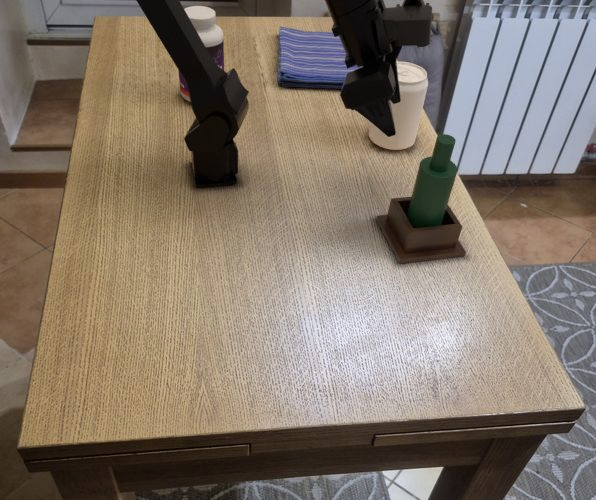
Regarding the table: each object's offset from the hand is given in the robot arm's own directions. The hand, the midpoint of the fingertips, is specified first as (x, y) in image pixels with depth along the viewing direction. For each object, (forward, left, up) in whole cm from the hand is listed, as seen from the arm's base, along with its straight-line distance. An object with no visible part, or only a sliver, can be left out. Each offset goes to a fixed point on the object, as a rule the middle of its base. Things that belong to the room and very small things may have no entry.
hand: (394, 118), depth 84 cm
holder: (+3, -9, -14) cm, 17 cm away
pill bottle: (-22, +36, -14) cm, 44 cm away
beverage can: (+8, +17, -14) cm, 23 cm away
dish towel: (+3, +47, -14) cm, 49 cm away
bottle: (+3, -9, -13) cm, 16 cm away
